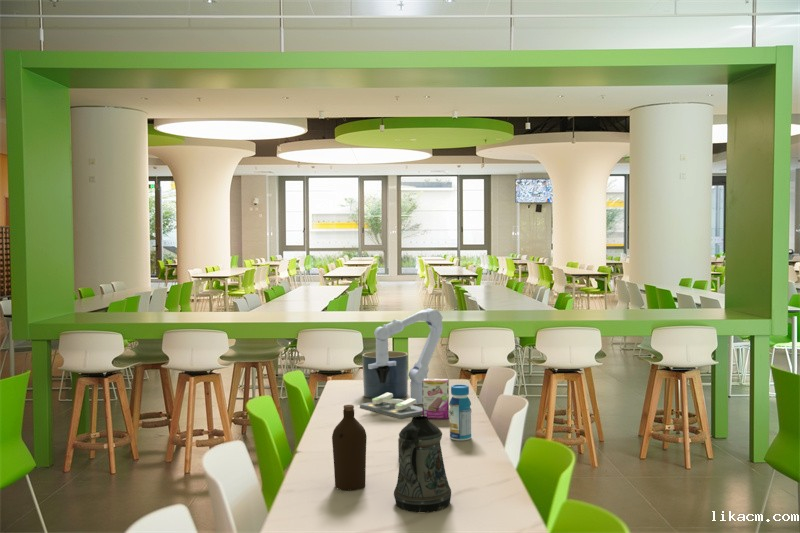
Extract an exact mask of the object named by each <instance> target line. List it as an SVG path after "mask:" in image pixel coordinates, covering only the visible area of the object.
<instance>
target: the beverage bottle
mask: <svg viewBox="0 0 800 533" xmlns="http://www.w3.org/2000/svg"><path fill="white" fill-rule="evenodd" d="M450 394H451V398H450V399H449V438H450V439H451V440H453V441H457V442H458V441H459V442H460V441H469V440H471V439H472V408H471V406H472V402H471V400H470V397H468V396H469V394H470V387H469V385H468V384H453V385H451V386H450Z"/></svg>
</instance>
